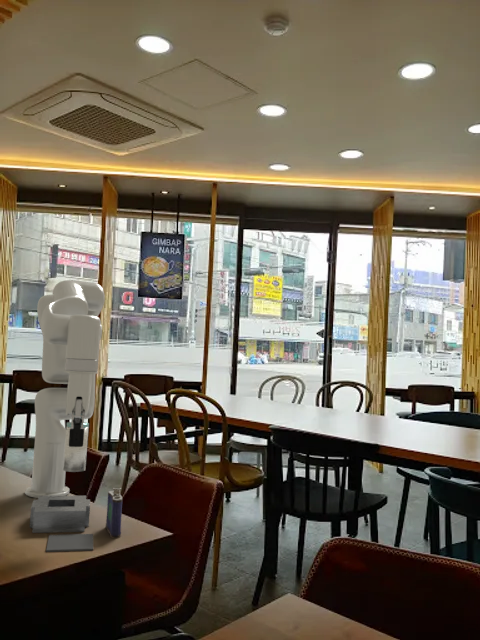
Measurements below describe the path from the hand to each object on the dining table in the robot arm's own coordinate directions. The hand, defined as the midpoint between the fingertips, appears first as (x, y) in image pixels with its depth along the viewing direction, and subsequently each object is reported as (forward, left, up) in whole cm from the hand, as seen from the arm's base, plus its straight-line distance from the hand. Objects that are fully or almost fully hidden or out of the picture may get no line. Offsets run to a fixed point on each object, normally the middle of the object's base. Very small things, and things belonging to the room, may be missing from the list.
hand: (76, 443), depth 131 cm
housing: (-13, -3, -22) cm, 26 cm away
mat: (+2, 0, -22) cm, 22 cm away
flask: (-5, +10, -23) cm, 25 cm away
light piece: (0, 0, -6) cm, 6 cm away
